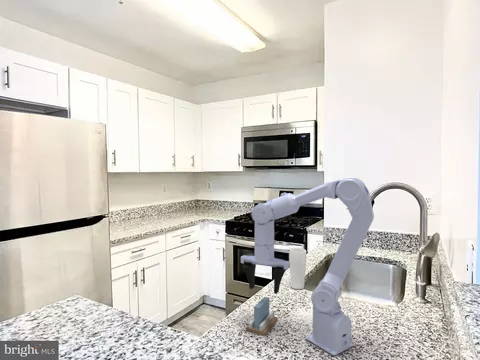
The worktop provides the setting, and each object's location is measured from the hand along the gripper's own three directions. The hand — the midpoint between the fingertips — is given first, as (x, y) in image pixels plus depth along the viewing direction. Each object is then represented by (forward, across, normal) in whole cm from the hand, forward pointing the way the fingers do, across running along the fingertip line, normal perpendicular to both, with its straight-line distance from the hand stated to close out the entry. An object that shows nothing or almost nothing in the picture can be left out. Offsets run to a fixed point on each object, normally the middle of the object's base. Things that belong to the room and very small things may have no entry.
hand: (264, 290), depth 86 cm
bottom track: (+10, 0, 0) cm, 10 cm away
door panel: (+9, 0, 0) cm, 9 cm away
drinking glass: (+11, -1, -34) cm, 36 cm away
